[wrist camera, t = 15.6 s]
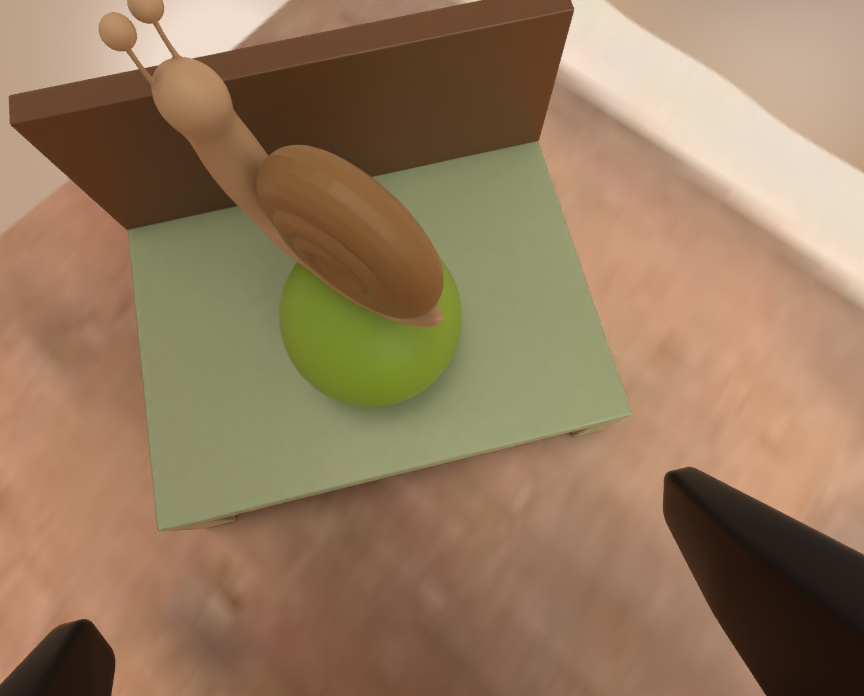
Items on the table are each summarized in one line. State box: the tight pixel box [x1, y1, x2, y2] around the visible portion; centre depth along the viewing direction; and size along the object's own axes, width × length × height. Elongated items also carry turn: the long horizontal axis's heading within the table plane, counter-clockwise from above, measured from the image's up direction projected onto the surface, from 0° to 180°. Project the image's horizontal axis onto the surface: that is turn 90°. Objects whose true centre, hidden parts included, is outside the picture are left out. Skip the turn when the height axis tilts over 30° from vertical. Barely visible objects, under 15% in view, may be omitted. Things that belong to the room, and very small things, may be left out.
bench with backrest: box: [9, 0, 631, 531], centre depth 19 cm, size 12×16×10 cm
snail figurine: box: [99, 0, 462, 407], centre depth 14 cm, size 5×6×12 cm
